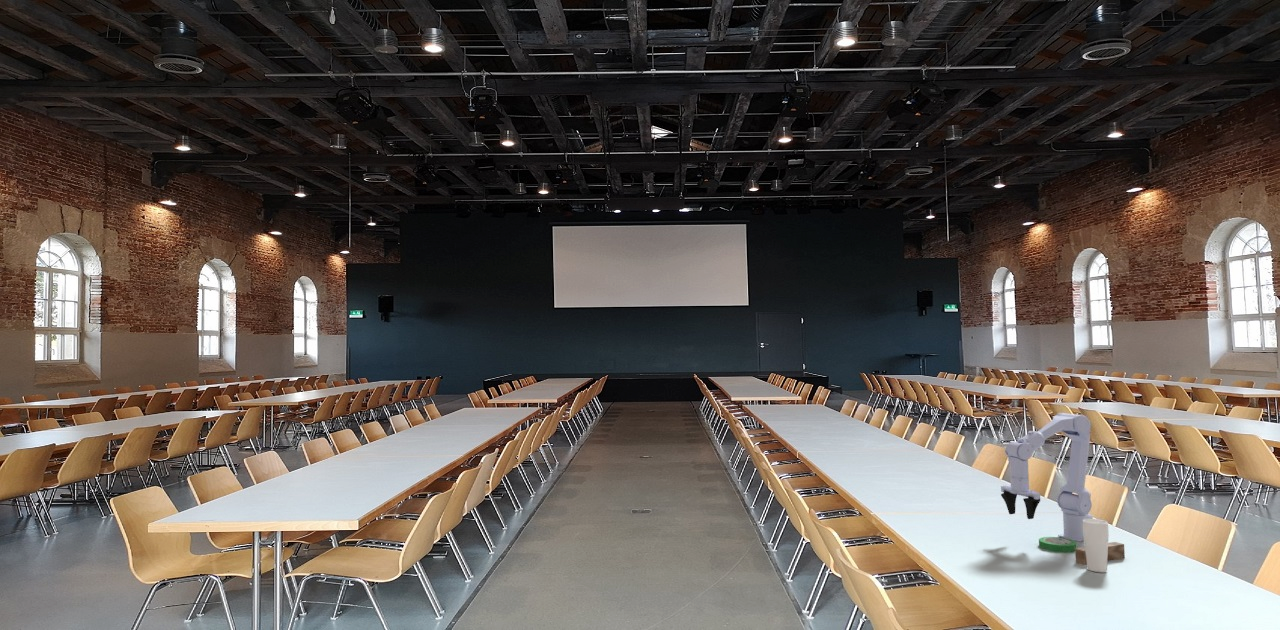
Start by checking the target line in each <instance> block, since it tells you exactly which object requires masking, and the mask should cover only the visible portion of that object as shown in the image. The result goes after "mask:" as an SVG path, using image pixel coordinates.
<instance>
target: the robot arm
mask: <svg viewBox="0 0 1280 630" xmlns="http://www.w3.org/2000/svg"><path fill="white" fill-rule="evenodd" d="M1091 425H1092V422H1091V421H1090V419H1089V418H1088V417H1087V416H1086V415H1084V414H1073V413H1067V412H1066V413H1065V412H1058V413H1057V414H1056V415H1054V416H1052V420H1051V421H1049V422H1048V423H1047V424H1045V425H1044V426H1043V427H1041V428H1040V429H1039V430H1038V431H1036V430H1029V431H1027V434H1025V435H1024V436H1022V437H1020V438H1018V440H1016V441H1010V442H1009V443H1008V444H1007V445H1006V448H1005V450H1004V453H1005V455H1006V457H1007V461H1008V463H1009V477H1010V486H1009V485H1001V486H1000V491H1001V492H1002V493H1000V496H1001V498H1002V499H1003V501H1004V502H1005V505H1006V509H1007V511H1008V513H1009V515H1014V514H1015V515H1016V502H1017V498H1018V497H1017V496H1022V497H1023V502H1024V506H1025V509H1026V510H1025V511H1026V519H1028V520H1032V519H1034V517H1035V513H1036V510H1037V507H1038V506H1039V504H1040V502H1041V493H1039V492H1036V491H1033V490H1031V489H1030V479H1029V478H1030V477H1029V459H1031V458H1032V455H1033V453H1034V452H1035V451H1036V450H1037V449H1039V448H1040V447H1043V446H1044V445H1045V441H1046V440H1047V439H1048V438H1050V437H1052V436H1054V435H1055V434H1058V433H1059V432H1062V433H1064V434H1065V435H1066V436H1067V437H1068V438H1069V439H1070V440H1071V446H1070V454H1069V462H1068V472H1067V479H1066V484H1064V485H1063V486H1061V487H1060V491H1059V494H1058V495H1057V498H1056V503H1057V505H1058V507H1059V508H1060V511H1061V512H1062V519H1063V520H1062V521H1063V523H1062V525H1063V533H1061V534H1057V537H1059V538H1066V539H1070V540H1073V541H1075V542H1084V538H1083V519H1094V518H1093V516H1092V515H1091V514H1090V512H1091V510H1092V507H1093V503H1092V500H1091V497H1092V494H1091V492H1090V491H1089V490H1088V489H1087V488H1086V477H1087V468H1088V467H1087V466H1088V460H1089V450H1090V443H1091V435H1090V433H1091V427H1092V426H1091ZM1025 497H1026V498H1025Z"/></svg>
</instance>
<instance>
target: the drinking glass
mask: <svg viewBox="0 0 1280 630" xmlns="http://www.w3.org/2000/svg"><path fill="white" fill-rule="evenodd" d="M1109 532H1110V531H1109V522H1108V521H1107V520H1104V519H1099V518H1093V519H1083V538H1084V541H1083V545H1084V546H1083V547H1085V553H1086V561H1087V565H1086V568H1087V570H1088V571H1091V572H1095V573H1105V572H1106V573H1107V571H1108V561H1107V557H1108V543H1109V536H1110V535H1109V534H1110V533H1109Z"/></svg>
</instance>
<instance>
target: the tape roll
mask: <svg viewBox="0 0 1280 630" xmlns="http://www.w3.org/2000/svg"><path fill="white" fill-rule="evenodd" d="M1038 546H1039V548H1041V549H1042V550H1045V551H1049V552H1054V553H1061V554H1063V553H1068V554H1069V553H1075V548H1077V541H1074V540H1070V539H1067V538H1063V537H1059V536H1057V537H1056V536H1043V537H1040V538H1038Z"/></svg>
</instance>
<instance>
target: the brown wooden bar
mask: <svg viewBox="0 0 1280 630" xmlns="http://www.w3.org/2000/svg"><path fill="white" fill-rule="evenodd" d="M1074 553H1075V563H1076V564H1080V565H1082V566H1087V561H1086V553H1085V546H1080V547H1076V548H1075V552H1074ZM1125 553H1126V552H1125V544H1124V543H1121V542H1118V541H1111V542H1108V557H1107V562H1111V561H1117V560H1122V559H1125V558H1126V557H1125Z"/></svg>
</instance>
